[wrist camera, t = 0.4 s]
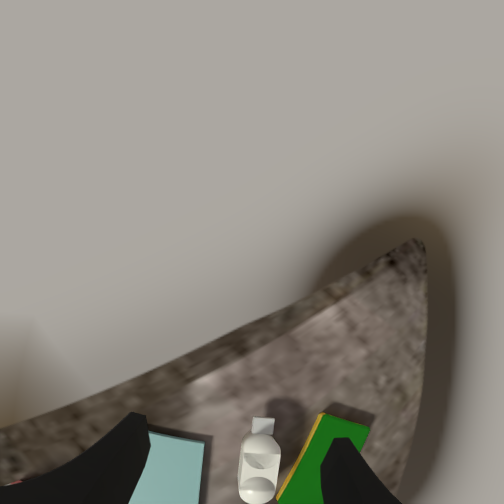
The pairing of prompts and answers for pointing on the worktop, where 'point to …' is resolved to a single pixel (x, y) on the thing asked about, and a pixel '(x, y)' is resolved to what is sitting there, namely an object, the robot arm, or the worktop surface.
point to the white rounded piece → (259, 462)
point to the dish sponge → (317, 459)
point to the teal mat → (170, 471)
